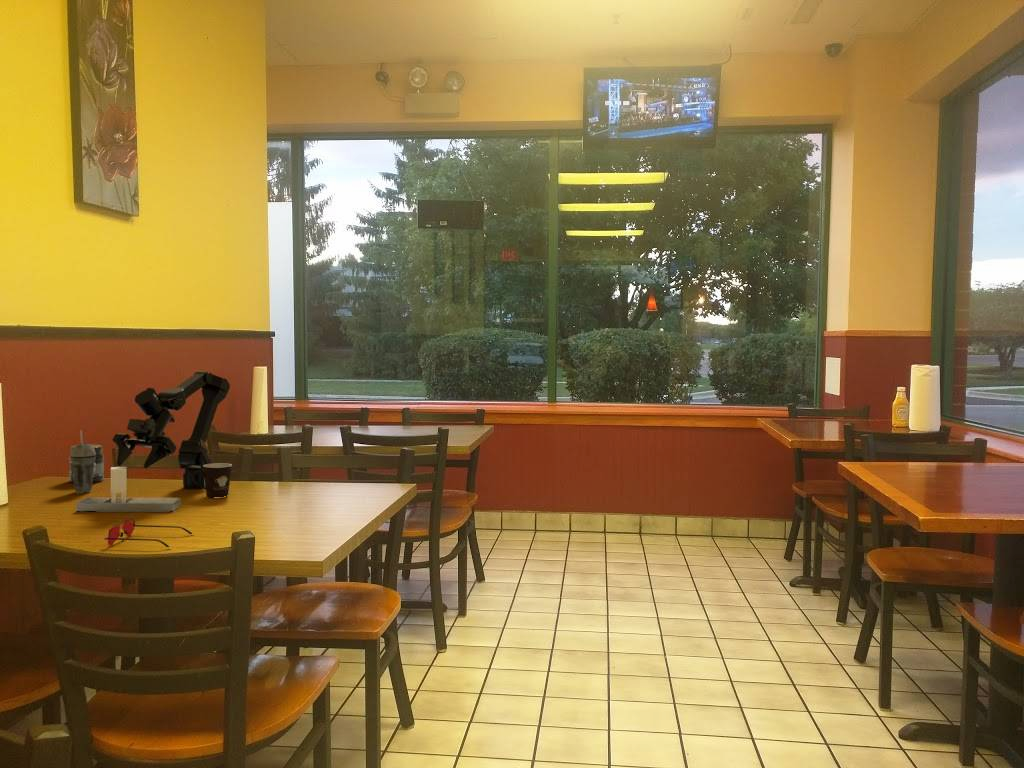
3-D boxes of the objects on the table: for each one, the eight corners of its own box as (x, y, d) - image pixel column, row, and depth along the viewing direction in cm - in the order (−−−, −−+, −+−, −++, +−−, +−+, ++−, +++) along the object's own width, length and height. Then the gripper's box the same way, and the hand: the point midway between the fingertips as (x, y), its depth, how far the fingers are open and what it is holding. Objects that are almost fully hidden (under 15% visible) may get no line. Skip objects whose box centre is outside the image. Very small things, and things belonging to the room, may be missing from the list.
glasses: (130, 534, 204) (130, 515, 204) (195, 536, 204) (195, 517, 204) (103, 549, 190) (103, 528, 190) (172, 551, 191) (172, 530, 190)
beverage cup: (101, 490, 256) (101, 428, 255) (86, 494, 249) (86, 431, 248) (79, 489, 257) (79, 427, 256) (65, 493, 250) (64, 430, 249)
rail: (180, 506, 237) (180, 497, 237) (172, 512, 229) (172, 503, 229) (87, 506, 234) (87, 497, 233) (76, 512, 226) (76, 503, 226)
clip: (126, 507, 234) (126, 466, 233) (126, 509, 230) (126, 468, 229) (111, 508, 232) (111, 467, 231) (110, 510, 228) (110, 469, 228)
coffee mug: (232, 493, 258) (232, 462, 257) (231, 498, 250) (231, 467, 249) (193, 494, 254) (193, 463, 253) (191, 500, 246) (191, 468, 245)
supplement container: (84, 477, 277) (84, 443, 277) (111, 479, 275) (111, 445, 275) (61, 482, 267) (61, 447, 266) (89, 484, 265) (89, 449, 264)
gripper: (116, 407, 241) (89, 448, 232) (169, 410, 237) (145, 452, 227) (134, 429, 250) (109, 470, 240) (186, 432, 245) (163, 474, 236)
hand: (131, 466), depth 235 cm, fingers open, 9 cm apart
